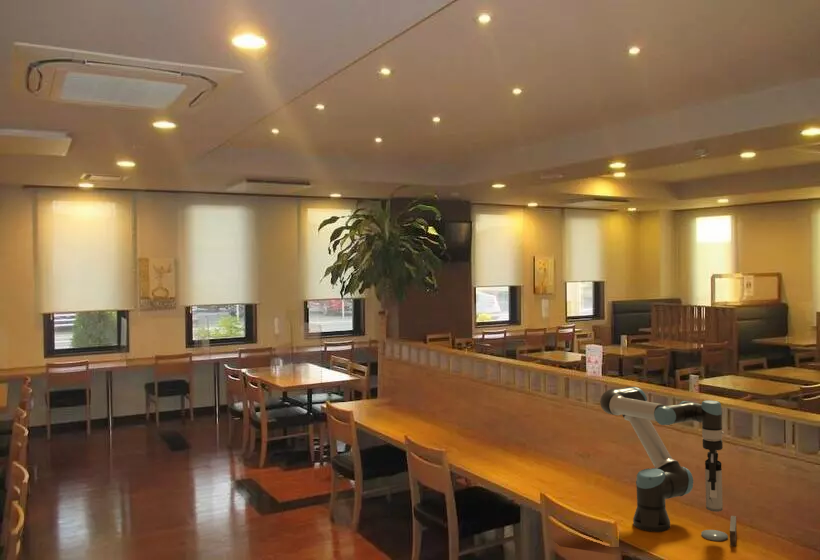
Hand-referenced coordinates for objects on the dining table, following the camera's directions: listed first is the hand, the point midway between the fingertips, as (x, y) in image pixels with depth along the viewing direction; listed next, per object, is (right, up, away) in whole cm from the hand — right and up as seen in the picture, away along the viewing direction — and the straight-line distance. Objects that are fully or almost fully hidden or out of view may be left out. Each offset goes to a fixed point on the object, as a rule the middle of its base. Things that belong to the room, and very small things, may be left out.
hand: (713, 494), depth 284 cm
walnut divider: (+7, -17, -2) cm, 19 cm away
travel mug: (0, -6, 0) cm, 6 cm away
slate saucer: (0, -17, 0) cm, 17 cm away
